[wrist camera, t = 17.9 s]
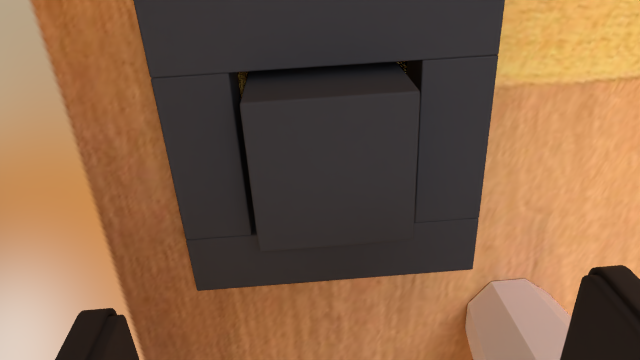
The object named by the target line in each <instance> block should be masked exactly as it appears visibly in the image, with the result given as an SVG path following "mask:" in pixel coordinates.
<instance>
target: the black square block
mask: <svg viewBox="0 0 640 360" xmlns="http://www.w3.org/2000/svg"><path fill="white" fill-rule="evenodd" d="M419 110H420V91H419V90H418V88H417V87H416V86H415V85H414V83H413V82H412V81H411V80H410V78H409V77H408V76H407V75H406V73H405V72H404V71H403V70H402V68H401V67H400V66H399V64H398V63H397V62H383V63H368V64H353V65H338V66H323V67H308V68H293V69H278V70H263V71H249V73H248V76H247V80H246V84H245V87H244V91H243V95H242V98H241V102H240V112H241V119H242V126H243V134H244V141H245V149H246V156H247V164H248V171H249V178H250V186H251V193H252V201H253V208H254V216H255V223H256V230H257V238H258V245H259V250H260V251H274V250H287V249H301V248H314V247H327V246H340V245H353V244H366V243H379V242H392V241H405V240H413V237H414V217H415V195H416V174H417V153H418V131H419Z"/></svg>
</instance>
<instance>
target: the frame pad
mask: <svg viewBox="0 0 640 360" xmlns="http://www.w3.org/2000/svg"><path fill="white" fill-rule="evenodd" d="M504 2H505V0H134V5H135V10H136V14H137V19H138V23H139V28H140V32H141V37H142V41H143V46H144V51H145V55H146V60H147V64H148V69H149V73H150V77H151V82H152V87H153V91H154V96H155V101H156V105H157V110H158V114H159V119H160V123H161V128H162V132H163V137H164V142H165V146H166V151H167V155H168V160H169V164H170V169H171V174H172V178H173V183H174V187H175V192H176V196H177V201H178V205H179V210H180V215H181V219H182V224H183V228H184V233H185V237H186V239H187V240H186V242H187V247H188V251H189V256H190V260H191V265H192V269H193V274H194V278H195V283H196V288H197V290H198V291H201V290H214V289H227V288H240V287H252V286H265V285H278V284H291V283H303V282H316V281H329V280H342V279H355V278H367V277H380V276H393V275H406V274H419V273H431V272H444V271H457V270H470V269H473V261H474V252H475V244H476V236H477V227H478V217H479V211H480V203H481V195H482V186H483V178H484V170H485V161H486V153H487V145H488V136H489V128H490V120H491V111H492V103H493V95H494V86H495V78H496V70H497V61H498V52H499V44H500V36H501V27H502V19H503V11H504ZM399 61H407V76H408V77H409V78H410V80H411V81H412V82H413V83H414V85H415V86H416V87H417V88H418V90H419V91H420V110H419V131H418V153H417V174H416V195H415V217H414V237H413V240H405V241H392V242H379V243H366V244H353V245H340V246H327V247H314V248H301V249H287V250H274V251H260V250H259V245H258V238H257V230H256V223H255V216H254V208H253V201H252V193H251V186H250V178H249V171H248V164H247V156H246V149H245V141H244V134H243V126H242V119H241V112H240V102H241V96H240V89H239V81H238V74H237V72H248V71H263V70H278V69H293V68H308V67H323V66H338V65H353V64H368V63H383V62H399Z"/></svg>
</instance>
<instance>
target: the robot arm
mask: <svg viewBox="0 0 640 360" xmlns="http://www.w3.org/2000/svg"><path fill="white" fill-rule="evenodd" d="M55 360H139V357H138V354H137V351H136V348H135V345H134V342H133V339H132V336H131V333H130V330H129V327H128V324H127V321H126V318H125V317H124V315H117V314H116V311H115V310H114V309H113V308H107V309H96V310H84V311H82V312H80V313H79V315H78V316H77V318H76V320H75V322H74V324H73V326H72V328H71V330H70V332H69V333H68V335H67V337H66V339H65V341H64V343H63V345H62V347H61V349H60V351H59V353H58V355H57V357H56V359H55ZM560 360H640V279H639V278H638V277H637V276H636V275H635V274H634V273H633V272H632V271H631V270H630V269H628V268H627V267H626V266H623V265H618V266H607V267H596V268H592V269H591V270H590V272H589V274H588V275H586V276H584V277H583V278H582V280H581V284H580V288H579V291H578V295H577V299H576V302H575V306H574V310H573V313H572V317H571V321H570V324H569V328H568V332H567V335H566V339H565V343H564V346H563V350H562V354H561V358H560Z"/></svg>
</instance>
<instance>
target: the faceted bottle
mask: <svg viewBox="0 0 640 360" xmlns="http://www.w3.org/2000/svg"><path fill="white" fill-rule="evenodd" d="M570 321H571V316H570V315H569V314H568V313H567V312H566V311H565V310H564V309H563V308H562V307H561V306H560V305H559V304H558V303H557V302H556V301H555V300H554V298H553V297H552V296H551V295H550V294H549V293H548V292H546V291H544V290H543V289H541V288H539V287H538V286H536V285H534V284H533V283H531V282H530V281H528V280H526V279H515V280H503V281H491V282H490V283H489V284H488V285H487V286H486V287H485V288H484V289H483V290H482V291H481V292H480V293H479V294H478V295H477V296H475V297H474V298H473V299H472V300H471V301H470V302H469V303H468V306H467V315H466V325H465V330H466V334H467V338H468V342H469V346H470V349H471V353H472V357H473V360H560V358H561V354H562V350H563V346H564V343H565V339H566V335H567V332H568V328H569V324H570Z"/></svg>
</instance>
